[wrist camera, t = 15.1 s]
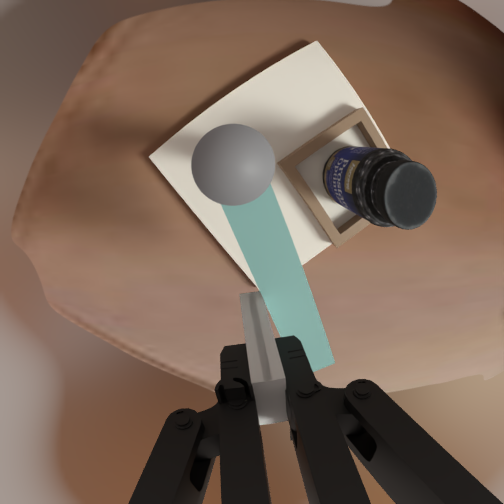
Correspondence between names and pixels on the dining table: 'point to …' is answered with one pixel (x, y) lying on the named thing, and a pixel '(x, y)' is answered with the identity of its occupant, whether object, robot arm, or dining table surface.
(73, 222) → the dining table surface
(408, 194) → the pill bottle
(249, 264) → the keeper arm
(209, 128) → the base board
